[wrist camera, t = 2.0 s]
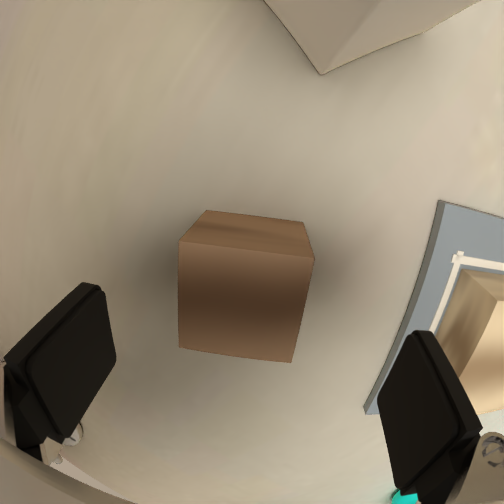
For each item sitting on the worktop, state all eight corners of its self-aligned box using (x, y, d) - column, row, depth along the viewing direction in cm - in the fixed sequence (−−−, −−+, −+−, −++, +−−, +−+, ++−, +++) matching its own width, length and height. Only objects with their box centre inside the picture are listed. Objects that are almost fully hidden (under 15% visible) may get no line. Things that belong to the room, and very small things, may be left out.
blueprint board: (487, 395, 20) (490, 401, 19) (363, 407, 20) (365, 415, 19) (560, 237, 14) (566, 241, 13) (438, 199, 14) (446, 203, 14)
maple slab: (492, 375, 18) (512, 406, 14) (411, 382, 18) (429, 423, 14) (538, 280, 15) (569, 305, 11) (461, 268, 15) (497, 300, 11)
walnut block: (287, 305, 17) (291, 363, 13) (201, 294, 18) (178, 347, 13) (302, 222, 16) (314, 258, 11) (206, 209, 16) (178, 240, 11)
